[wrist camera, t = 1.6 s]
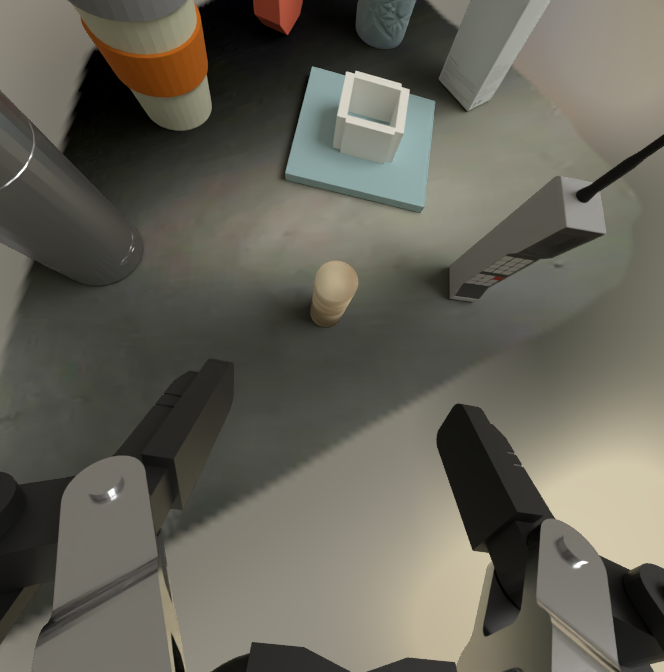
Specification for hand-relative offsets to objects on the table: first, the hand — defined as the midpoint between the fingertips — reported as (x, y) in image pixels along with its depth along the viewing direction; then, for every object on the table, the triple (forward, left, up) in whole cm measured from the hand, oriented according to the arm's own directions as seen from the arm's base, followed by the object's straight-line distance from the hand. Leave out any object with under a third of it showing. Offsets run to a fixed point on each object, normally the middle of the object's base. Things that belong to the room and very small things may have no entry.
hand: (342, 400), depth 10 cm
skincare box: (+16, +55, -23) cm, 61 cm away
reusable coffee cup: (-26, +37, -23) cm, 51 cm away
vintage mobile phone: (+18, +19, -23) cm, 35 cm away
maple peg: (0, +11, -23) cm, 25 cm away
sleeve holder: (+1, +39, -23) cm, 45 cm away
